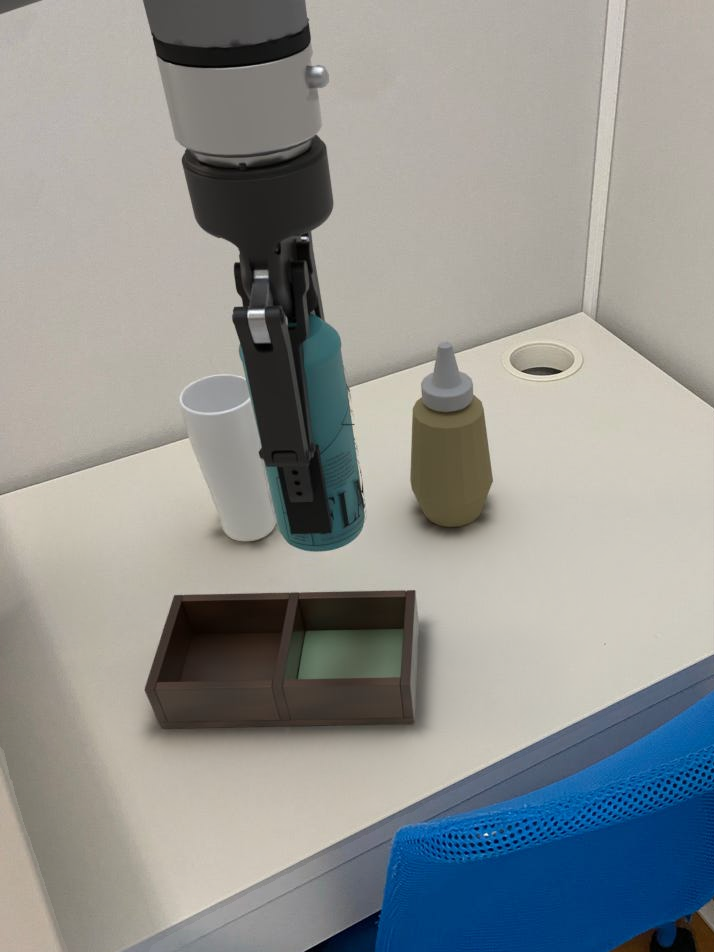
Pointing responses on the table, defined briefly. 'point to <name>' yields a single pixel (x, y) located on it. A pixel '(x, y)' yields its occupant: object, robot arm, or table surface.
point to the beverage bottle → (325, 438)
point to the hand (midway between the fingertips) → (317, 498)
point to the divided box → (287, 660)
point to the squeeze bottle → (449, 445)
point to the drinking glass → (229, 453)
